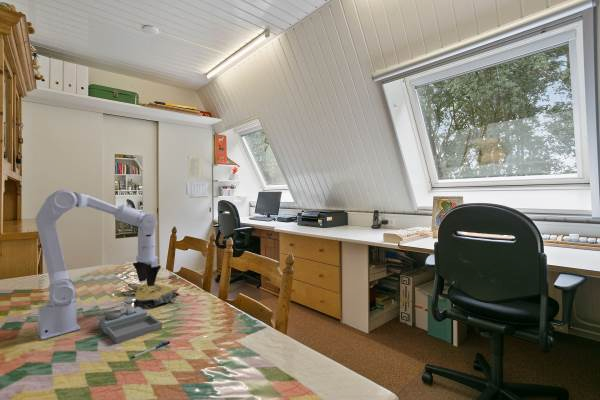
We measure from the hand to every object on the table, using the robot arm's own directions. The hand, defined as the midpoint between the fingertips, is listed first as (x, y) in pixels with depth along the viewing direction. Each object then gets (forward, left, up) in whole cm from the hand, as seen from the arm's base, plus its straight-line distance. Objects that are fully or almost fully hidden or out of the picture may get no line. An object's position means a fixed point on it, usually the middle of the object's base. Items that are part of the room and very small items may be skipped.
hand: (146, 283), depth 109 cm
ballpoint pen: (-10, -30, -11) cm, 33 cm away
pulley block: (+6, +13, -11) cm, 18 cm away
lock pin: (-8, -6, -10) cm, 14 cm away
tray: (-9, -15, -10) cm, 20 cm away
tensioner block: (-10, -6, -10) cm, 15 cm away
